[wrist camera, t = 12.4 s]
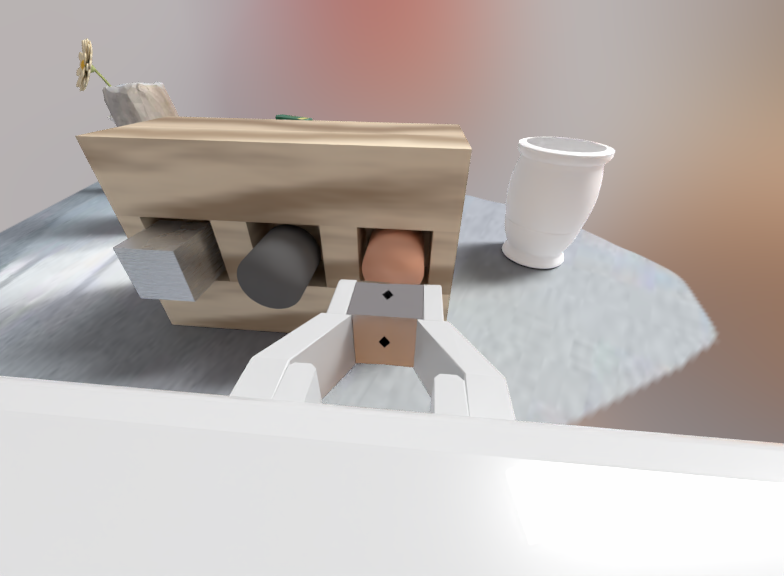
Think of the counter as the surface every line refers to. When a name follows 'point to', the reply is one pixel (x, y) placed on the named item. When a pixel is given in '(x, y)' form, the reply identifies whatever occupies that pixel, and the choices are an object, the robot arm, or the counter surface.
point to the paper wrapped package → (138, 102)
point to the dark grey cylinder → (279, 267)
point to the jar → (551, 197)
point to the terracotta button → (394, 256)
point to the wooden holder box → (286, 197)
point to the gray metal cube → (172, 260)
